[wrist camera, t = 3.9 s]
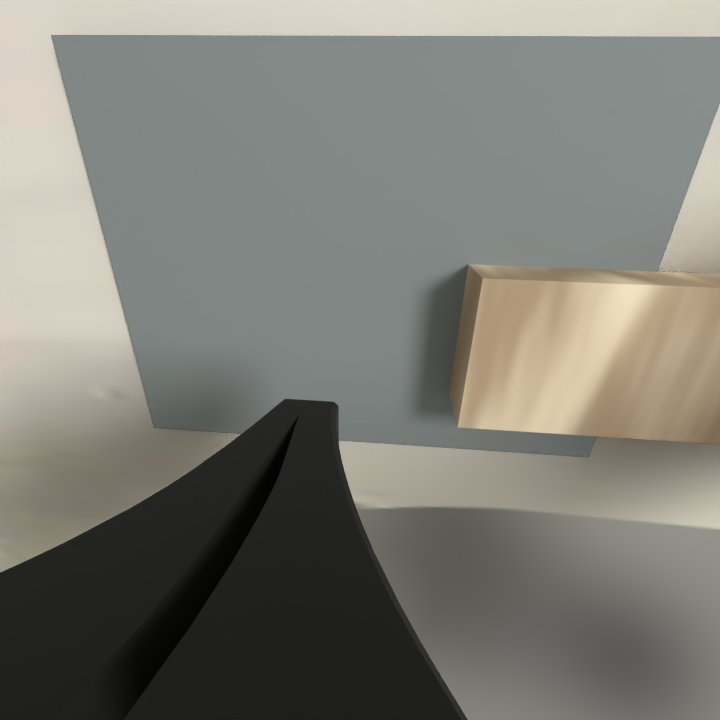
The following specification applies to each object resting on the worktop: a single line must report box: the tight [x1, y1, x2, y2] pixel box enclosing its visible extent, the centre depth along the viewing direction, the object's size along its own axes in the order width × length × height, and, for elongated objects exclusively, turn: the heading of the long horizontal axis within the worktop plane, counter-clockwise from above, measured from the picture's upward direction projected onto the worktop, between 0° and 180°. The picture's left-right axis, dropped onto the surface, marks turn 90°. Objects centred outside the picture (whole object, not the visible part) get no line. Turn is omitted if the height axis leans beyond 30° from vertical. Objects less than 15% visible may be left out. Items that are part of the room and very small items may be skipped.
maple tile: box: [449, 264, 720, 444], centre depth 14 cm, size 2×6×10 cm
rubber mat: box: [51, 35, 720, 457], centre depth 15 cm, size 22×16×1 cm
